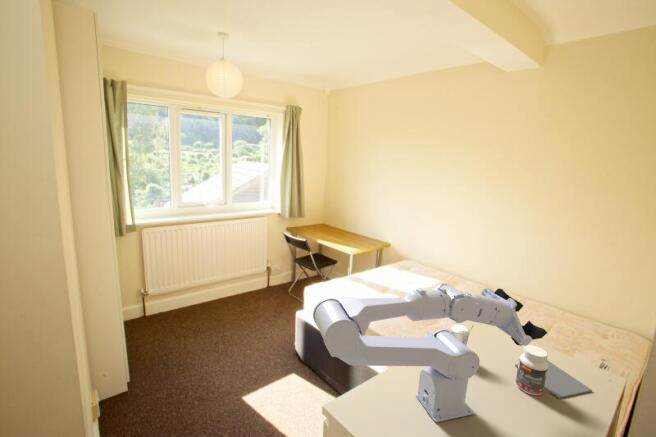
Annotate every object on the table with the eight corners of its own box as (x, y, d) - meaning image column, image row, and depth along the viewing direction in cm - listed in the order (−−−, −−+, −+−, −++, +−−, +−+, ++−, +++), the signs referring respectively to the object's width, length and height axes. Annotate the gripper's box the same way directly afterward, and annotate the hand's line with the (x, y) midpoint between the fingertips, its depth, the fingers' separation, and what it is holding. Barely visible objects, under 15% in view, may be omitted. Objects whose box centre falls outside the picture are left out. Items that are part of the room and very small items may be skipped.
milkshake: (471, 364, 84) (475, 329, 82) (450, 360, 85) (454, 326, 83) (467, 354, 88) (471, 321, 87) (447, 351, 89) (451, 318, 88)
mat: (557, 398, 73) (558, 397, 73) (514, 365, 84) (515, 364, 84) (591, 391, 75) (592, 389, 75) (545, 360, 87) (545, 359, 87)
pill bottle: (514, 389, 75) (521, 352, 73) (515, 376, 80) (521, 340, 78) (543, 400, 72) (551, 361, 70) (542, 385, 77) (549, 348, 75)
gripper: (519, 324, 60) (568, 335, 64) (478, 273, 72) (521, 285, 76) (497, 348, 63) (544, 357, 67) (460, 295, 75) (503, 305, 79)
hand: (531, 320), depth 72 cm, fingers open, 7 cm apart
